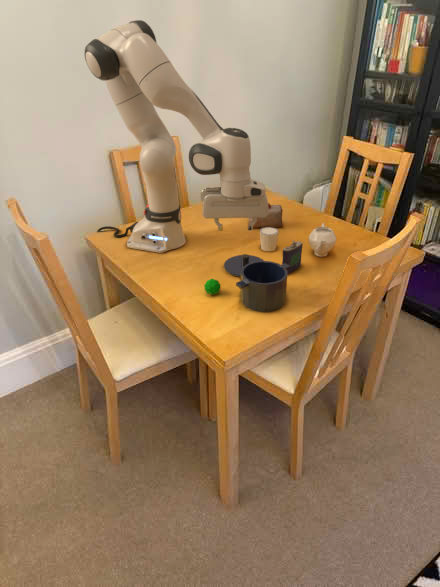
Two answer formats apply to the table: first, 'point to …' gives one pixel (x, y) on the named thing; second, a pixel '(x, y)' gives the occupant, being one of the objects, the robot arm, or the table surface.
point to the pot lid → (239, 263)
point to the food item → (270, 218)
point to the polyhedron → (212, 286)
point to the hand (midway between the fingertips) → (235, 230)
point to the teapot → (322, 240)
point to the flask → (293, 256)
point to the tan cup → (268, 238)
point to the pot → (263, 285)
